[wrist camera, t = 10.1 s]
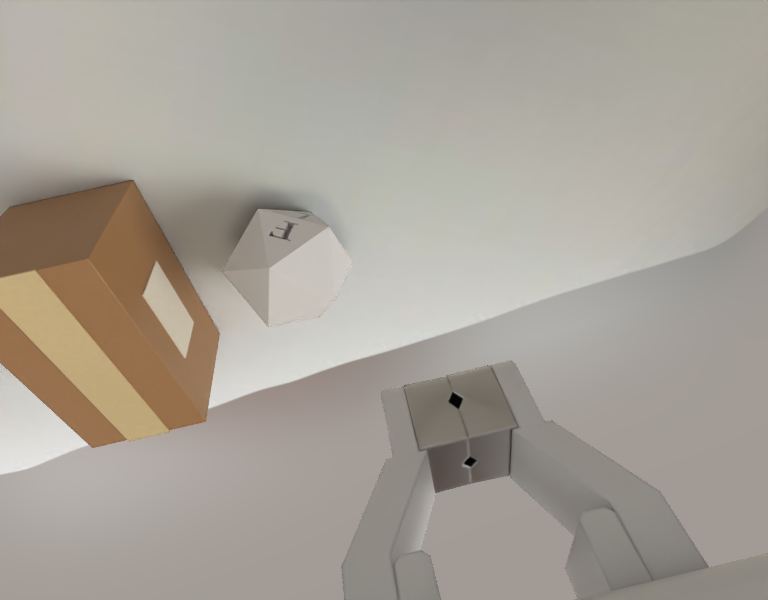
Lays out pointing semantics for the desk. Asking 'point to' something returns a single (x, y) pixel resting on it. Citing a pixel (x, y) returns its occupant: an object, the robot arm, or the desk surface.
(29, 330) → the carton
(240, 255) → the die
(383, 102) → the desk surface
